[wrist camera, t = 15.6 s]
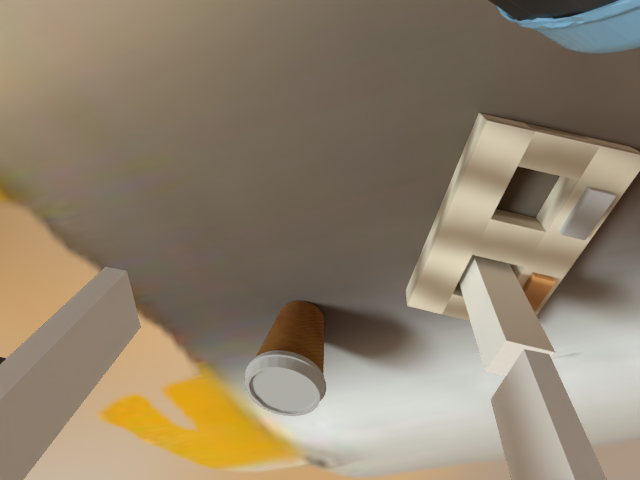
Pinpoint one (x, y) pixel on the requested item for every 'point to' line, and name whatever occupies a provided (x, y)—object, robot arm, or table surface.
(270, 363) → the disposable coffee cup
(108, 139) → the table surface
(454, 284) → the socket plate
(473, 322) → the plug
